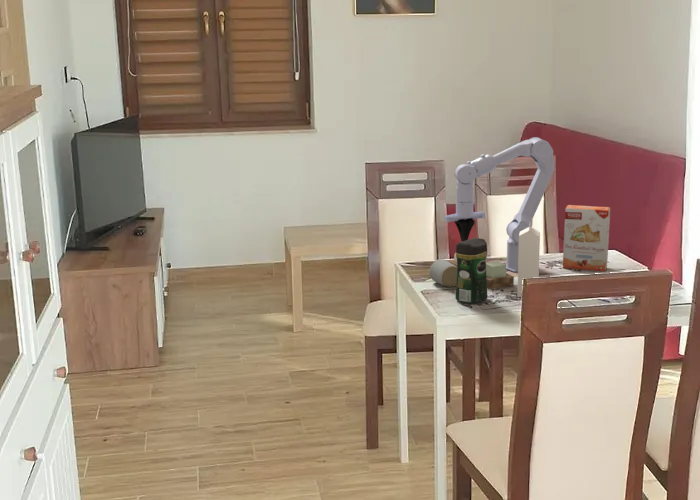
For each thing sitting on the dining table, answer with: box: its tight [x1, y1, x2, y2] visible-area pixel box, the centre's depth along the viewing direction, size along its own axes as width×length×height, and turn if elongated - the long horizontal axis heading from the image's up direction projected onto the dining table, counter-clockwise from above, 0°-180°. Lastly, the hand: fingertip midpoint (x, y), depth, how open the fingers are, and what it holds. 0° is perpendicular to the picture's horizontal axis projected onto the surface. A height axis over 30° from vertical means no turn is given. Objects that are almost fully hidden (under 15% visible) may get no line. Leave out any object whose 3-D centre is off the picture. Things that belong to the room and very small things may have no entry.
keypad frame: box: [446, 259, 515, 290], centre depth 279 cm, size 9×27×3 cm, turn 22°
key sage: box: [486, 260, 507, 278], centre depth 269 cm, size 5×5×4 cm
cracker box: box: [562, 204, 611, 272], centre depth 284 cm, size 14×6×21 cm, turn 68°
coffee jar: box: [455, 237, 488, 304], centre depth 253 cm, size 10×8×19 cm
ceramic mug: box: [429, 258, 457, 288], centre depth 271 cm, size 11×8×8 cm
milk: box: [516, 224, 541, 298], centre depth 256 cm, size 6×6×22 cm
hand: (464, 241), depth 286 cm, fingers closed
